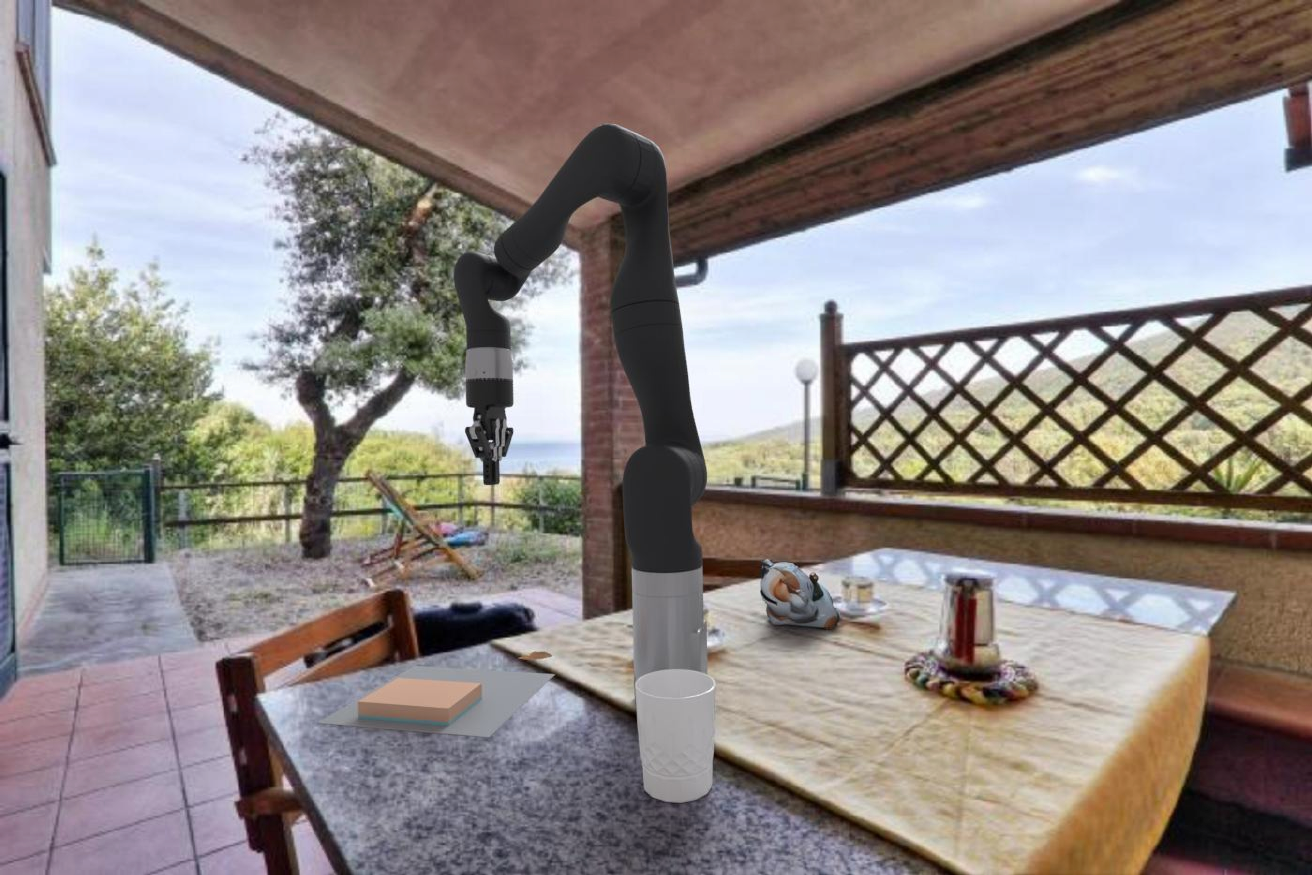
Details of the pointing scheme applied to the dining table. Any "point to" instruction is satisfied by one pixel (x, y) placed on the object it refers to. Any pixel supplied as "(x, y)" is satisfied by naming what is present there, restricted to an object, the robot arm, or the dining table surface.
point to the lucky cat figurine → (796, 597)
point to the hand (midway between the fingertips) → (491, 484)
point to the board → (482, 720)
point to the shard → (536, 655)
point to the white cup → (676, 733)
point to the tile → (420, 701)
